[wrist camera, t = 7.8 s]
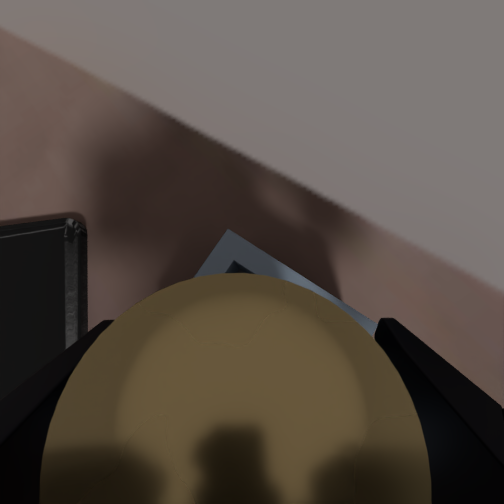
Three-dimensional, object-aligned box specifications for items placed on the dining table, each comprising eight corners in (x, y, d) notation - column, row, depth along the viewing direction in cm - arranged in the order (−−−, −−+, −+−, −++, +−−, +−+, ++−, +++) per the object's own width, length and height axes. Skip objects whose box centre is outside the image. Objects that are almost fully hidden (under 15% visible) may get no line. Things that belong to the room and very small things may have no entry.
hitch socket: (182, 600, 15) (145, 736, 11) (65, 497, 17) (-16, 577, 12) (346, 319, 18) (378, 324, 13) (236, 248, 19) (227, 228, 14)
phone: (80, 216, 19) (80, 453, 16) (90, 220, 21) (91, 444, 18) (-30, 230, 20) (-51, 469, 16) (-14, 234, 21) (-31, 459, 18)
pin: (258, 409, 16) (253, 856, 3) (192, 347, 17) (-39, 485, 4) (314, 338, 17) (509, 445, 4) (248, 282, 17) (217, 207, 4)
